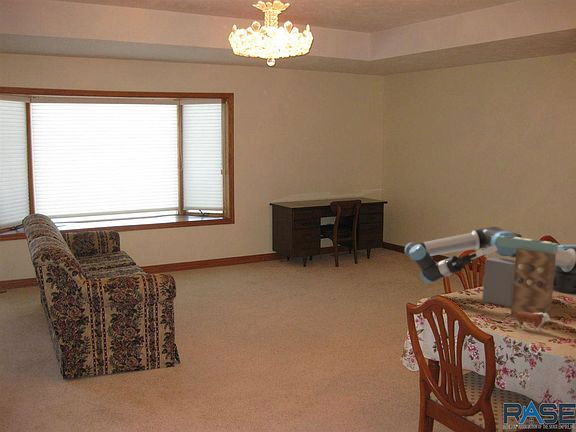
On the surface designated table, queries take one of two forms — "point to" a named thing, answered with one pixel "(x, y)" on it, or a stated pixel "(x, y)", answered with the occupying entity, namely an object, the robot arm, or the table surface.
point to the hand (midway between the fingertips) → (489, 249)
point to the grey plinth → (498, 281)
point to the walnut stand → (533, 282)
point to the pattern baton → (528, 244)
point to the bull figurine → (531, 319)
